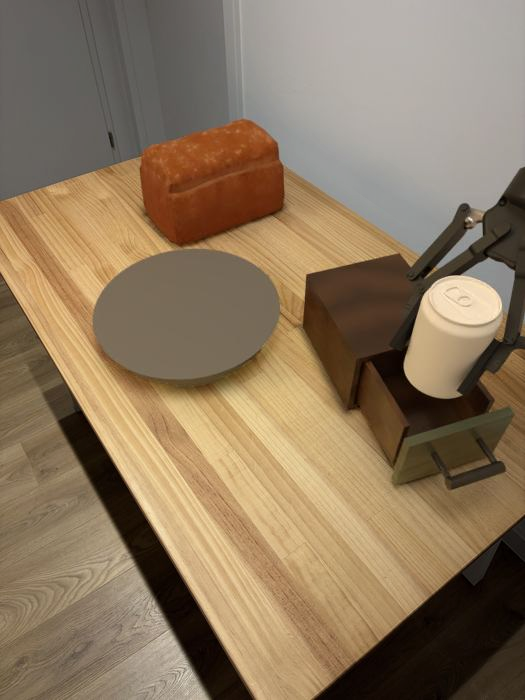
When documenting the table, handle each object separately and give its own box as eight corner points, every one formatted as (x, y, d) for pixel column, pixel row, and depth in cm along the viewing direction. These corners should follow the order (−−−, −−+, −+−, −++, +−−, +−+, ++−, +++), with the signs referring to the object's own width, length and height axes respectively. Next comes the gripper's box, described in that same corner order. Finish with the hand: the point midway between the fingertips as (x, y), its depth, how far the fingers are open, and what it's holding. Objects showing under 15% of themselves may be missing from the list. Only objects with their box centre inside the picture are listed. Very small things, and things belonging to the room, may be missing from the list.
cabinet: (441, 383, 79) (461, 331, 71) (346, 410, 76) (356, 359, 68) (387, 305, 89) (399, 252, 81) (302, 327, 86) (305, 274, 78)
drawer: (514, 486, 67) (541, 447, 60) (414, 520, 64) (431, 483, 57) (429, 365, 80) (444, 321, 73) (342, 389, 77) (350, 346, 70)
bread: (138, 206, 108) (124, 134, 97) (245, 170, 117) (243, 100, 106) (177, 252, 99) (165, 178, 88) (290, 210, 107) (293, 137, 96)
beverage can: (436, 413, 61) (466, 340, 52) (388, 365, 65) (407, 290, 56) (488, 382, 63) (525, 307, 54) (438, 338, 68) (464, 262, 59)
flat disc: (314, 350, 83) (316, 329, 80) (141, 430, 74) (135, 411, 70) (227, 250, 99) (225, 229, 96) (75, 306, 90) (67, 285, 86)
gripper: (661, 238, 53) (519, 427, 58) (472, 158, 64) (365, 325, 68) (669, 214, 47) (509, 429, 52) (458, 129, 57) (340, 315, 62)
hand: (427, 369), depth 60 cm, fingers closed on beverage can, 8 cm apart
